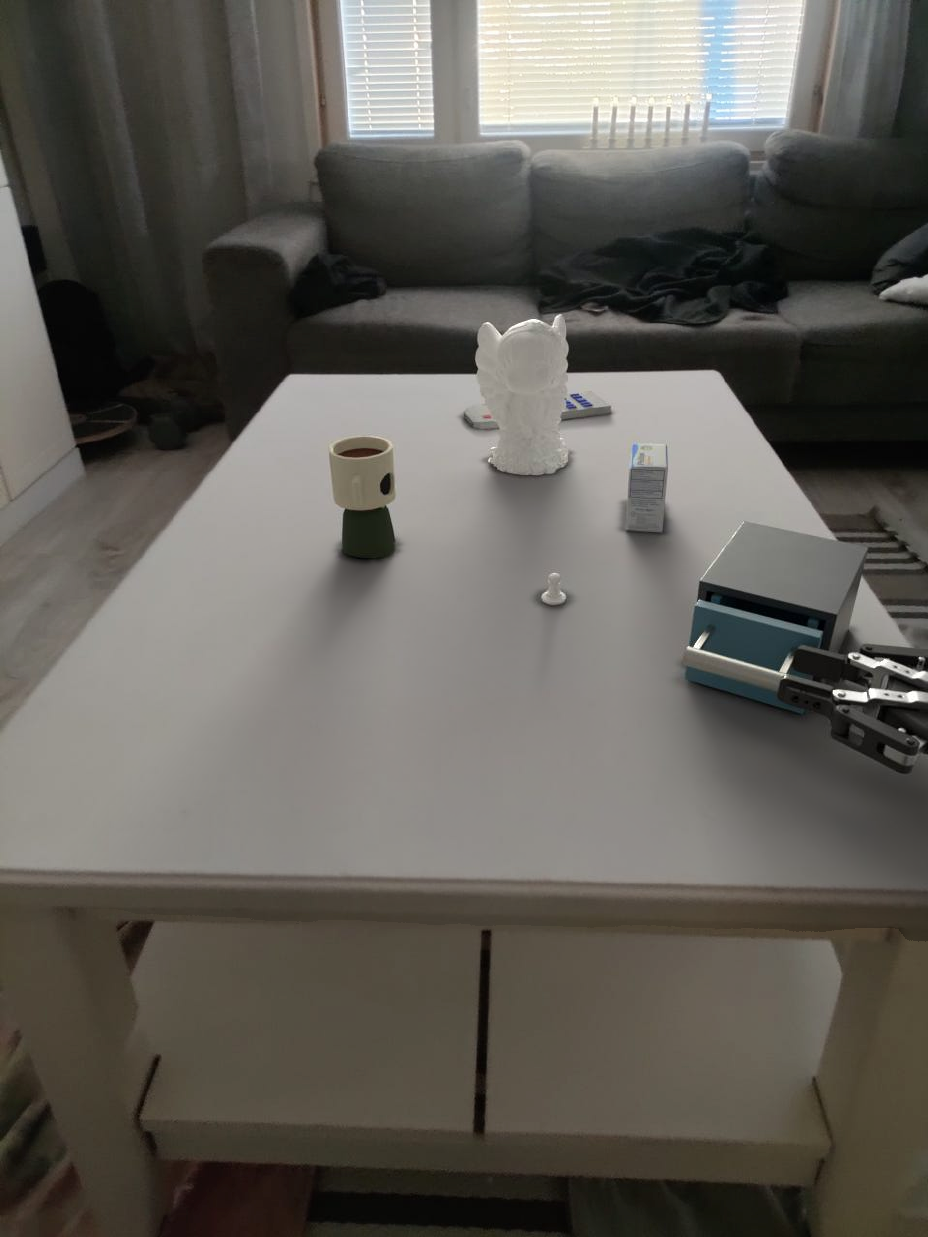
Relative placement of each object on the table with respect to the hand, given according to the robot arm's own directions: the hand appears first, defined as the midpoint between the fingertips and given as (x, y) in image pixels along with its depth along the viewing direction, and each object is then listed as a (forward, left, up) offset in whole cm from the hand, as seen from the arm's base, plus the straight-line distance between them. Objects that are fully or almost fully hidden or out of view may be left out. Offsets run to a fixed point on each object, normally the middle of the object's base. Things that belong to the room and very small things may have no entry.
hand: (788, 671), depth 70 cm
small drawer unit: (+4, -13, -7) cm, 16 cm away
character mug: (+50, -11, -7) cm, 52 cm away
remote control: (+54, -62, -7) cm, 83 cm away
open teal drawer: (+4, -7, -6) cm, 10 cm away
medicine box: (+25, -34, -7) cm, 43 cm away
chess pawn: (+26, -11, -7) cm, 29 cm away
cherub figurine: (+47, -44, -7) cm, 65 cm away
